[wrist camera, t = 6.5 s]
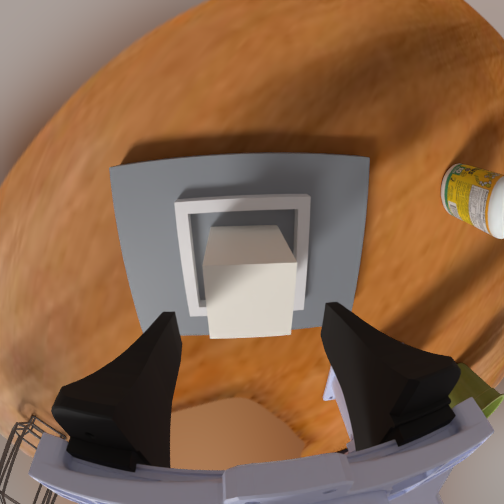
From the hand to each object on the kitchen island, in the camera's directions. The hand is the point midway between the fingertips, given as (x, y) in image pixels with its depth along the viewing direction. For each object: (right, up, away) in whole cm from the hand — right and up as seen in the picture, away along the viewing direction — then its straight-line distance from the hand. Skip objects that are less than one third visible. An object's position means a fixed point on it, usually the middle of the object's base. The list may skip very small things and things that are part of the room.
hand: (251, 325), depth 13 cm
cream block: (0, +3, +7) cm, 7 cm away
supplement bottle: (+20, +10, +8) cm, 24 cm away
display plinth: (-1, +4, +8) cm, 9 cm away
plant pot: (+34, -18, +21) cm, 44 cm away
